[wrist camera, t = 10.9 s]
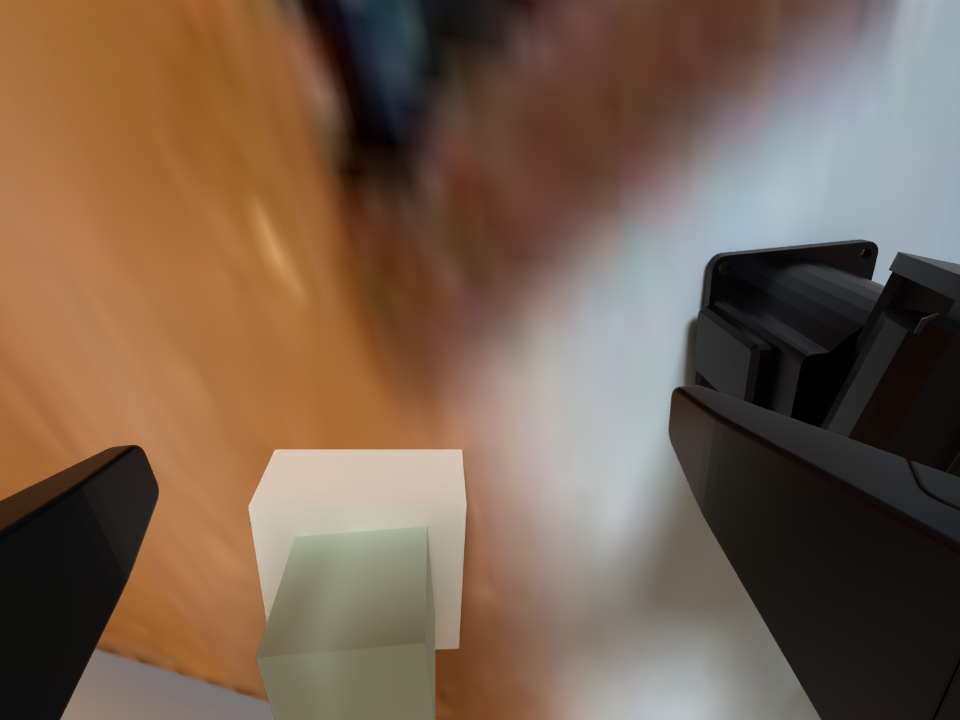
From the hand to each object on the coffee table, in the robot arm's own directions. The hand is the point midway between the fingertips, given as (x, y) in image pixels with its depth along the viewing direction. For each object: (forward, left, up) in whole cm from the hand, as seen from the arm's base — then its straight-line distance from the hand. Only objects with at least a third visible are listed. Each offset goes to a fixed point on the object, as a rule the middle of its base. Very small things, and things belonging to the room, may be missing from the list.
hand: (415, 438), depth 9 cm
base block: (+4, +12, -12) cm, 18 cm away
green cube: (+4, +12, -8) cm, 15 cm away
